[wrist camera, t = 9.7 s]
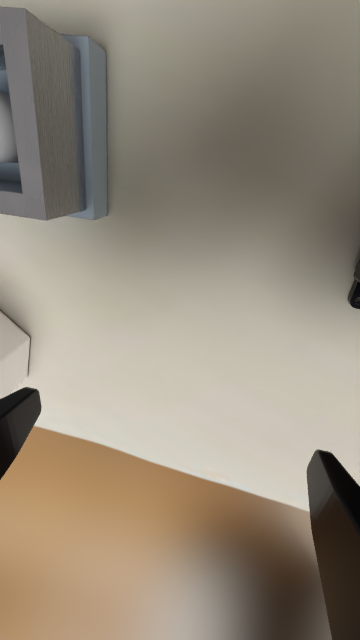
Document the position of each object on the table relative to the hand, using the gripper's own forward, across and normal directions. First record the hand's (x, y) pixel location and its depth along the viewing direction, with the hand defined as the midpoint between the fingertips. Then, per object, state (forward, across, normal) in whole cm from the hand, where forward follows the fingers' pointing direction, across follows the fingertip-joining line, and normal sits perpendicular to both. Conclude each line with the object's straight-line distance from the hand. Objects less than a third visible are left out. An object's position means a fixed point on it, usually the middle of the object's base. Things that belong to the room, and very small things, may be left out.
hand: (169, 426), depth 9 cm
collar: (+10, +11, -8) cm, 17 cm away
